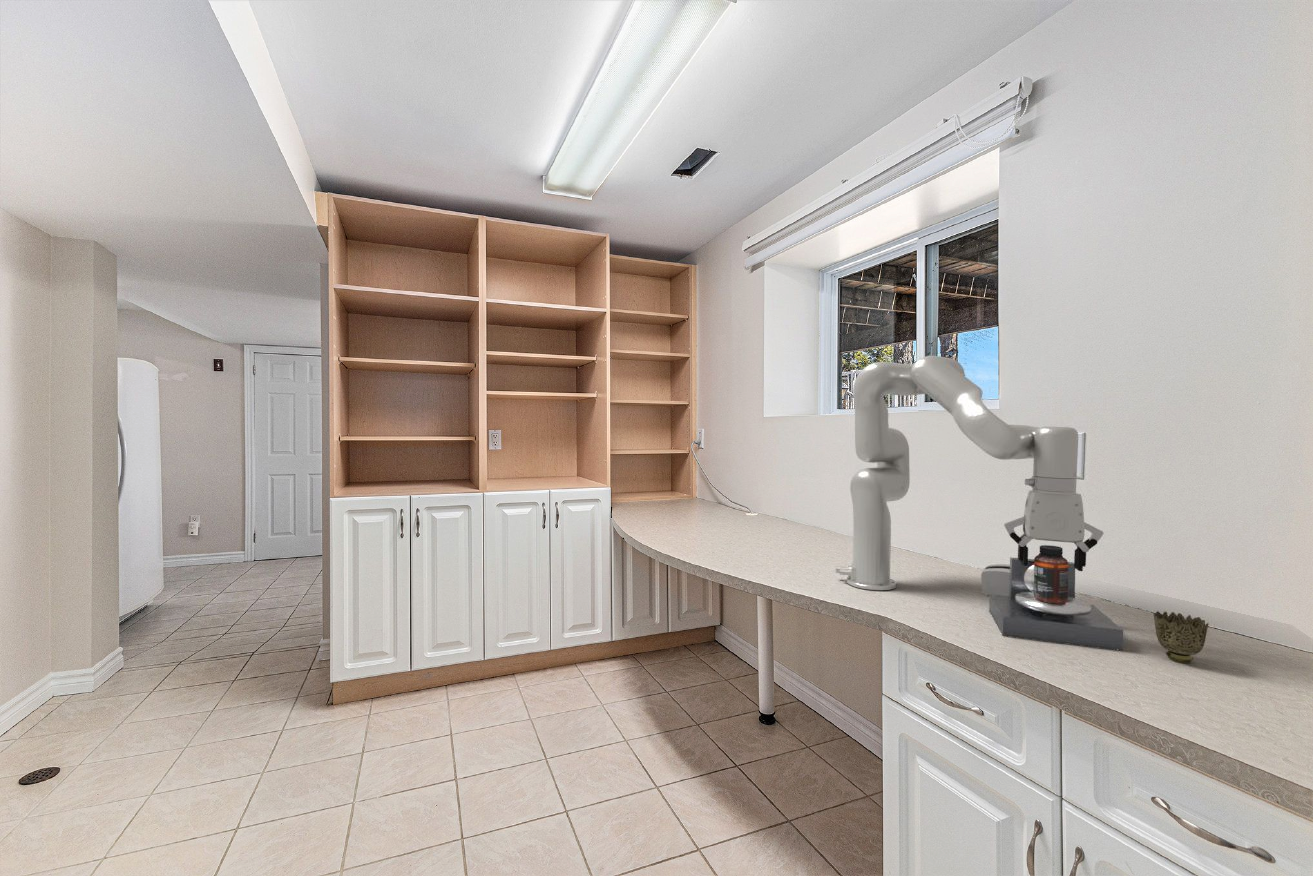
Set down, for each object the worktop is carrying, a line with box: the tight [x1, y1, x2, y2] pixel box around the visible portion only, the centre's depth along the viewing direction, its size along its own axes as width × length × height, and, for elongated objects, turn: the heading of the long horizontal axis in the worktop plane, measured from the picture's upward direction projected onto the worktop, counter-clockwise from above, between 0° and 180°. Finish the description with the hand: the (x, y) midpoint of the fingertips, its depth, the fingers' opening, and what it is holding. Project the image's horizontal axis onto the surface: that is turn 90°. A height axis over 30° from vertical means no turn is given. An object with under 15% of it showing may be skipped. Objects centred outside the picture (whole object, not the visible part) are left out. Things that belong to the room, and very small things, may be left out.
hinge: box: [981, 563, 1010, 596], centre depth 142 cm, size 17×5×10 cm, turn 35°
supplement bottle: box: [1034, 544, 1069, 604], centre depth 120 cm, size 6×6×11 cm
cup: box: [1153, 610, 1209, 664], centre depth 106 cm, size 8×7×8 cm
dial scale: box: [988, 556, 1124, 651], centre depth 122 cm, size 20×17×13 cm
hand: (1050, 567), depth 120 cm, fingers open, 9 cm apart
